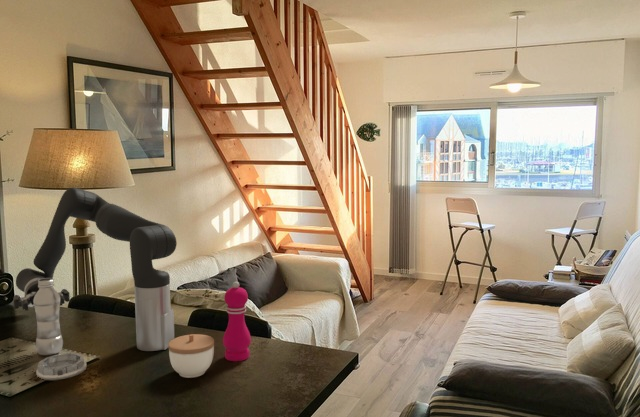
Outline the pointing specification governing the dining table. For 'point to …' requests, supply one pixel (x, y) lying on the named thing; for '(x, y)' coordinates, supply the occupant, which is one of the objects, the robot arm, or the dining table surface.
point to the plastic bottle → (47, 318)
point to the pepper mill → (236, 325)
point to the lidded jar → (191, 354)
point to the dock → (61, 366)
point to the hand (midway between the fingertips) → (44, 304)
